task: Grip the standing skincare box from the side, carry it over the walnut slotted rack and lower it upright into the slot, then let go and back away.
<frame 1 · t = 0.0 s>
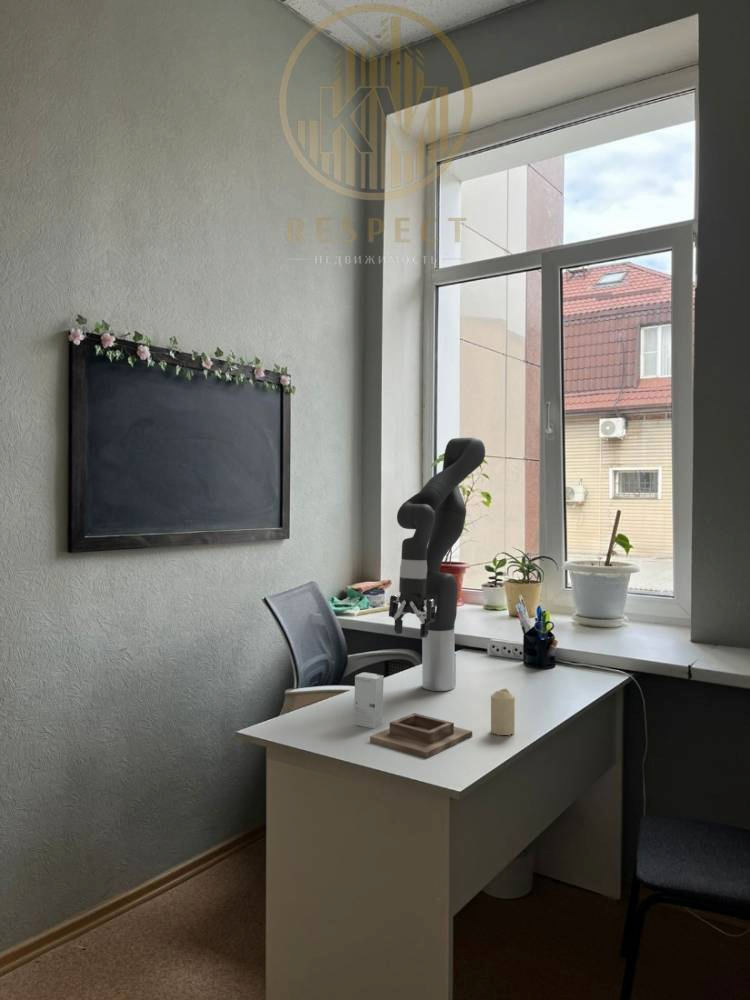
hand: (410, 635, 202), 17 cm above the table, tool pointing down, fingers open, 8 cm apart
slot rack: (421, 738, 169), on the table
skincare box: (368, 725, 180), on the table
candle: (502, 733, 174), on the table
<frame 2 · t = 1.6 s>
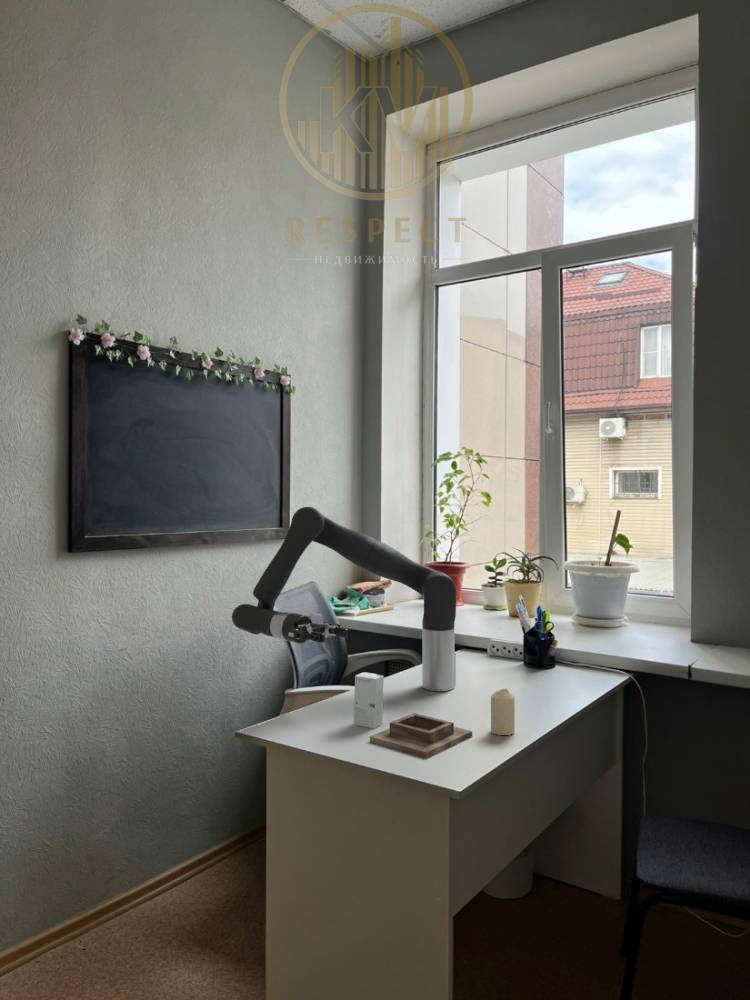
hand: (335, 635, 186), 20 cm above the table, tool horizontal, fingers open, 8 cm apart
nothing on the table moved.
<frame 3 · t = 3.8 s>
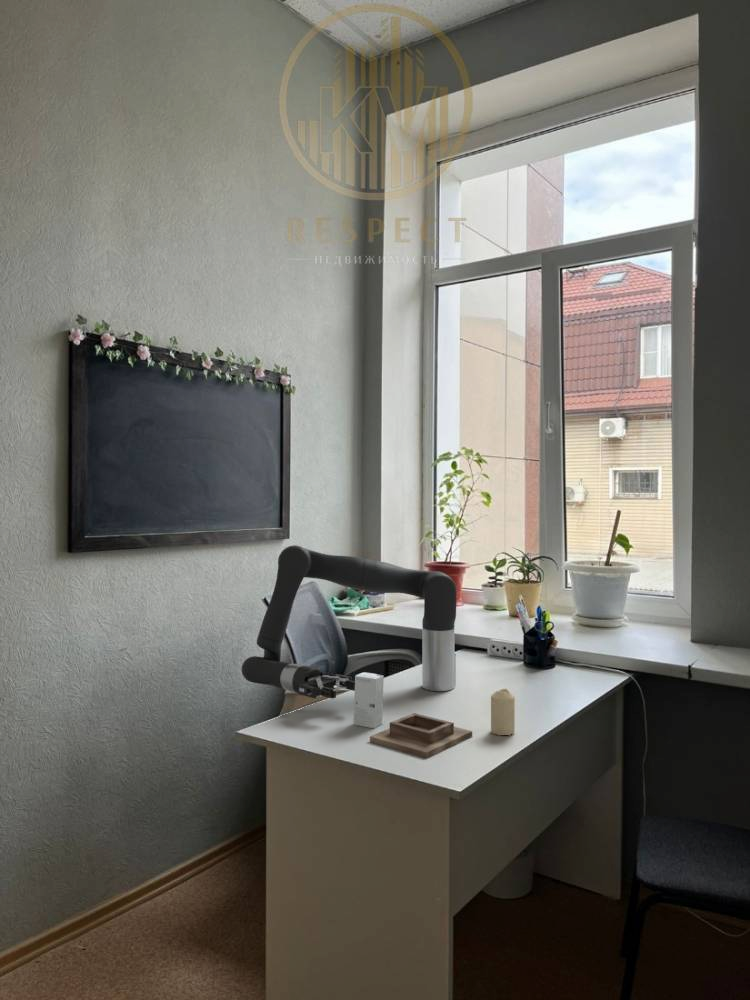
hand: (346, 690, 184), 7 cm above the table, tool horizontal, fingers open, 8 cm apart
nothing on the table moved.
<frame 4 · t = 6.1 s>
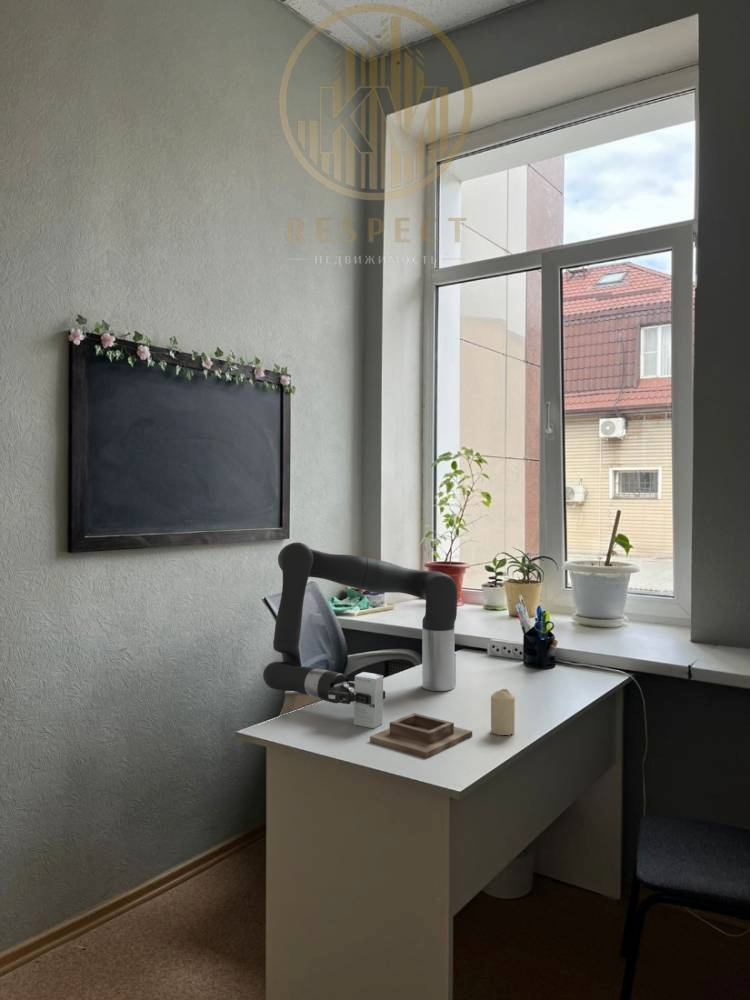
hand: (377, 697, 178), 7 cm above the table, tool horizontal, fingers closed on skincare box, 5 cm apart
skincare box: (368, 725, 180), on the table, touching gripper
everything else where it was.
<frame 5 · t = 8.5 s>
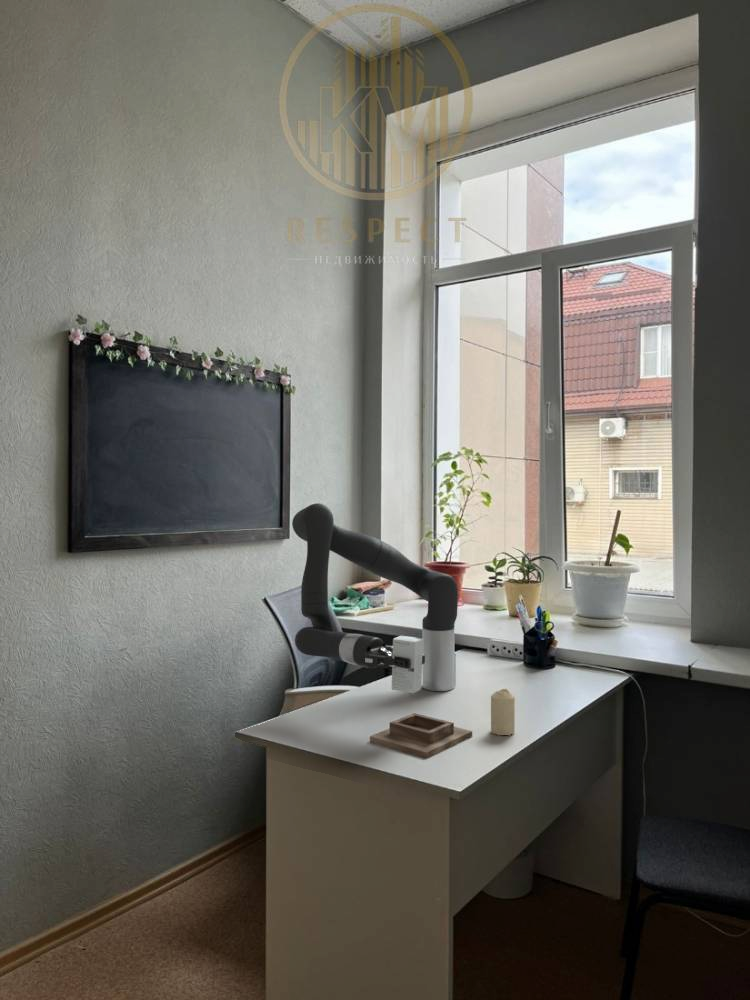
hand: (416, 661, 170), 18 cm above the table, tool horizontal, fingers closed on skincare box, 5 cm apart
skincare box: (407, 690, 172), point 10 cm above the table, touching gripper
everything else where it was.
when the fingers open (9 cm above the table, at t = 11.3 s): skincare box drops 1 cm, resting on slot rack.
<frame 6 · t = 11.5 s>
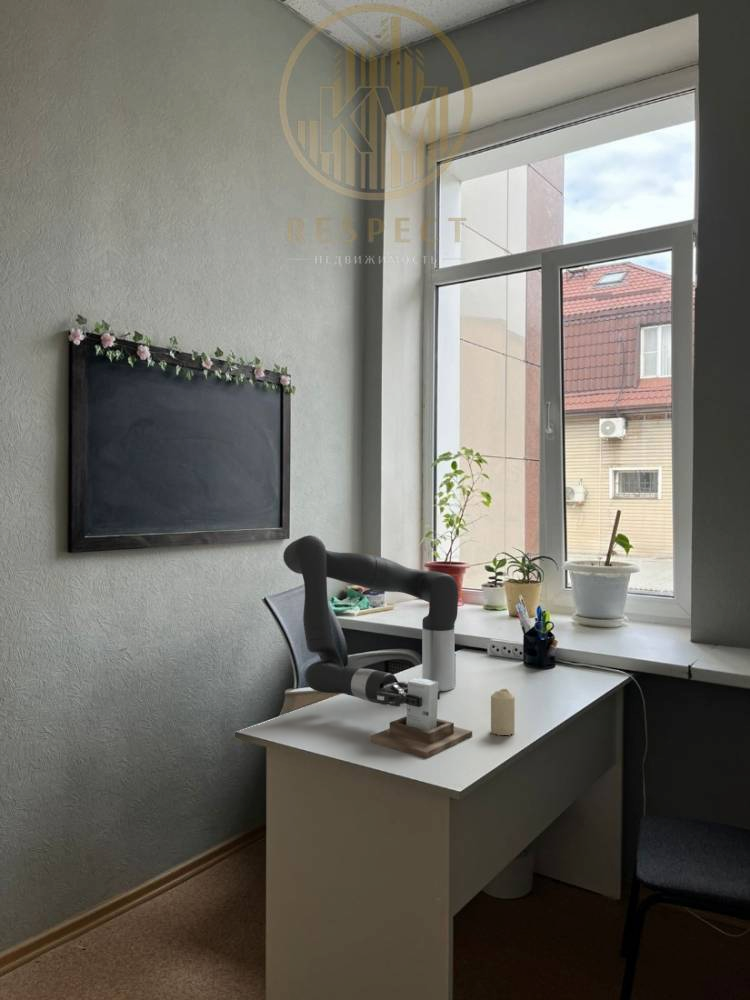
hand: (430, 698, 168), 10 cm above the table, tool horizontal, fingers open, 6 cm apart
skincare box: (421, 734, 170), point 1 cm above the table, touching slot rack
everything else where it was.
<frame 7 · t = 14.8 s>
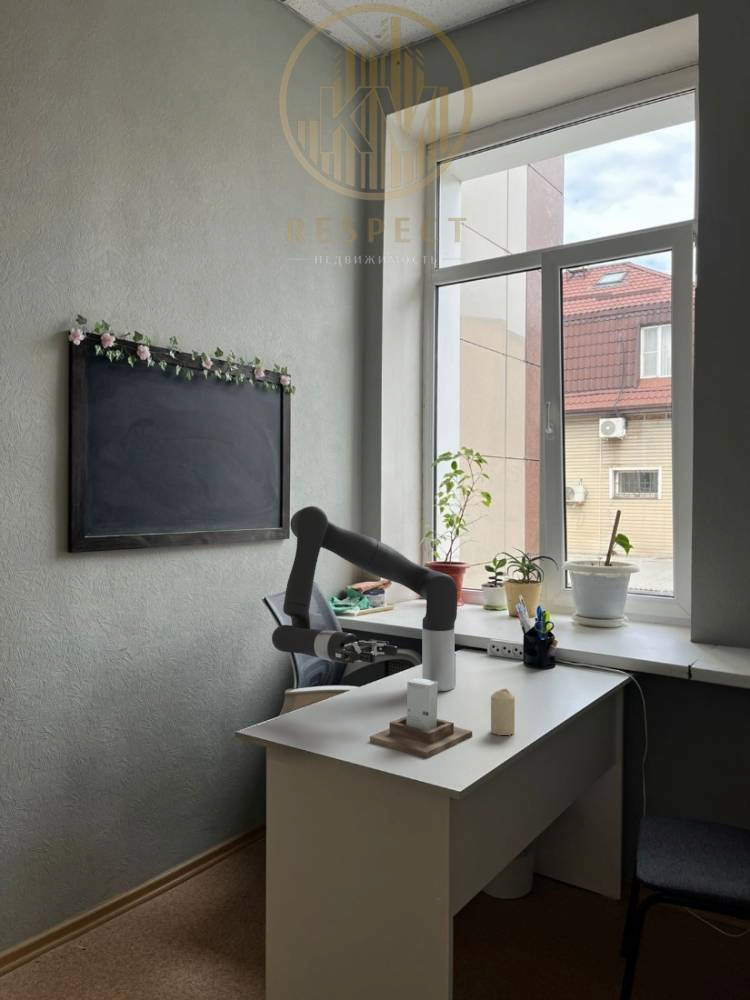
hand: (385, 654, 176), 18 cm above the table, tool horizontal, fingers open, 8 cm apart
nothing on the table moved.
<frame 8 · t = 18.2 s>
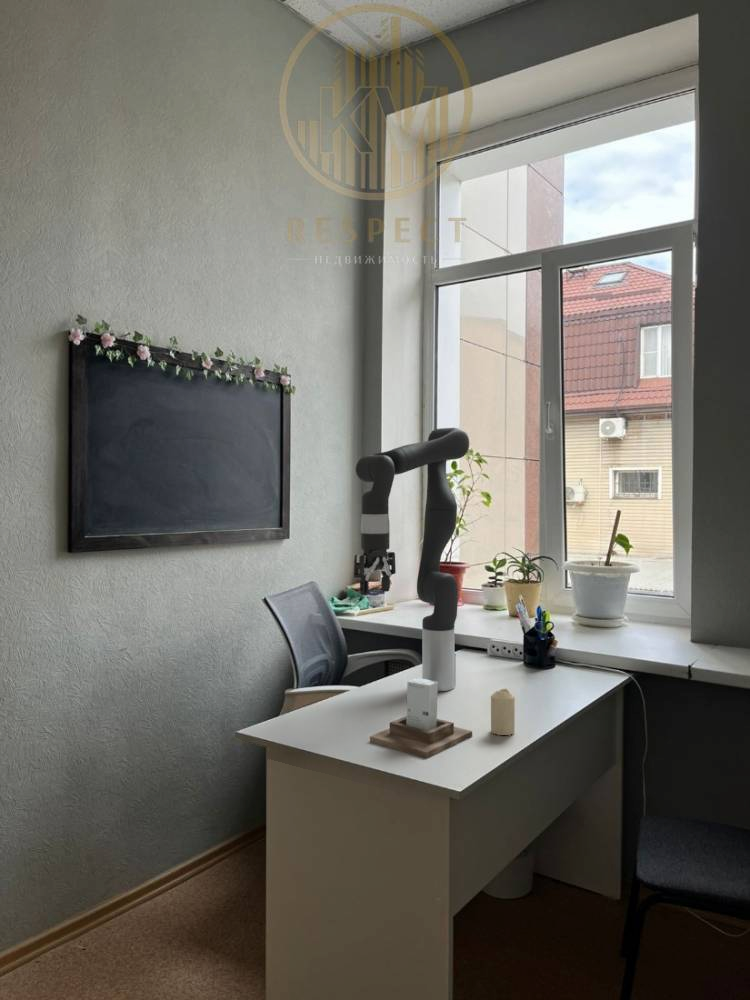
hand: (375, 592, 193), 30 cm above the table, tool pointing down, fingers open, 8 cm apart
nothing on the table moved.
at the end: skincare box 0.3 cm off-centre on the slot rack, point 1.0 cm above the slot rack's base; skincare box tilted 0°; the gripper is holding nothing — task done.
